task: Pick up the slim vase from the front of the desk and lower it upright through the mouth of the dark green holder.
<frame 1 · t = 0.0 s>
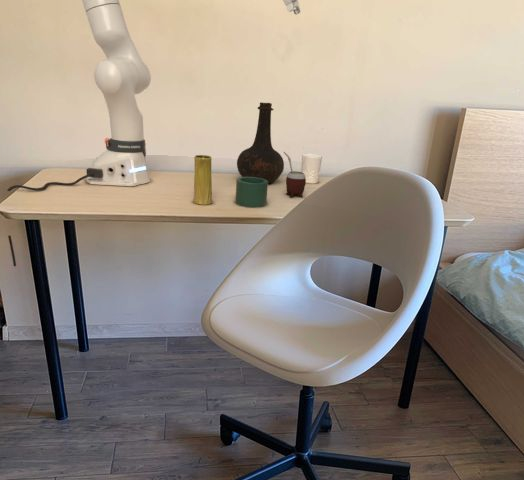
hand: (294, 12, 148), 54 cm above the table, tool tilted 30°, fingers open, 8 cm apart
white cup: (309, 182, 205), on the table
holder: (250, 203, 169), on the table
mate gourd: (293, 196, 182), on the table
vase: (202, 203, 166), on the table
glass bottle: (259, 182, 199), on the table
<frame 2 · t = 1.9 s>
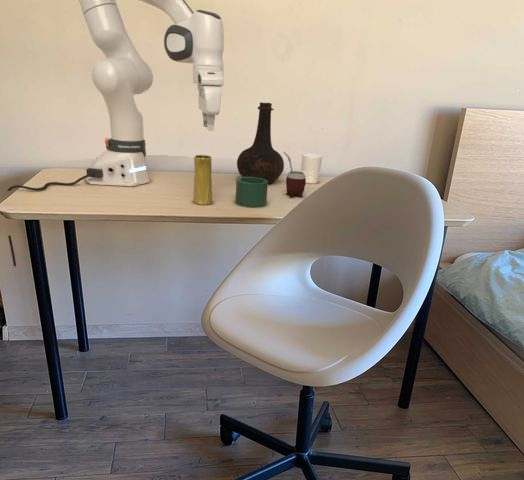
hand: (208, 128, 155), 22 cm above the table, tool pointing down, fingers open, 8 cm apart
nothing on the table moved.
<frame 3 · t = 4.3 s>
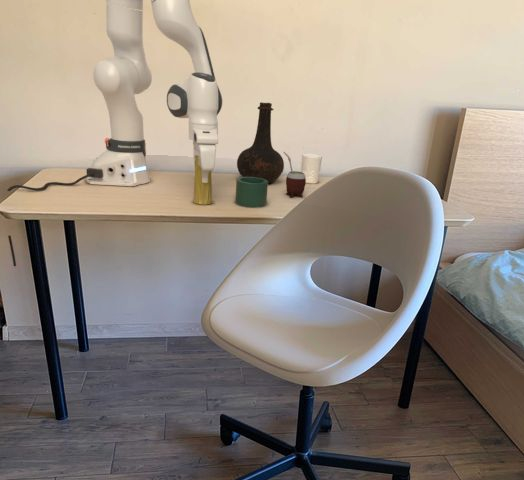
hand: (203, 180, 163), 7 cm above the table, tool pointing down, fingers closed on vase, 5 cm apart
vase: (202, 203, 166), on the table, touching gripper
everything else where it was.
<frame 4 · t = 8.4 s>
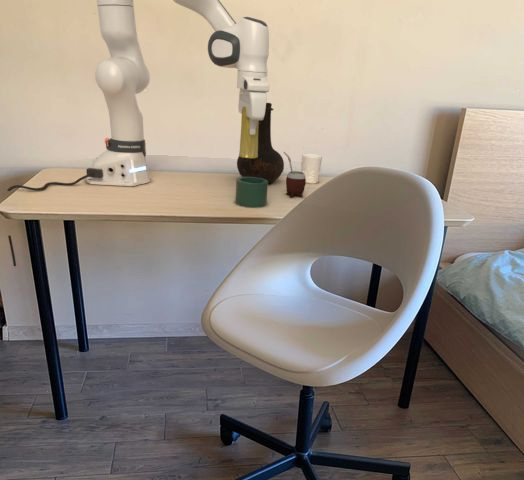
hand: (249, 132, 158), 22 cm above the table, tool pointing down, fingers closed on vase, 5 cm apart
vase: (248, 157, 162), point 14 cm above the table, touching gripper
everything else where it was.
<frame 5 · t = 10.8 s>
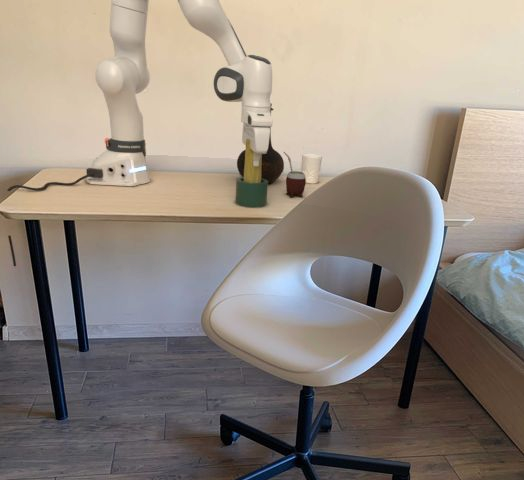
hand: (253, 163, 163), 13 cm above the table, tool pointing down, fingers closed on vase, 5 cm apart
vase: (251, 187, 167), point 5 cm above the table, touching gripper
everything else where it was.
when the fingers open (8 cm above the table, at t = 12.7 s): vase stays where it is, resting on holder.
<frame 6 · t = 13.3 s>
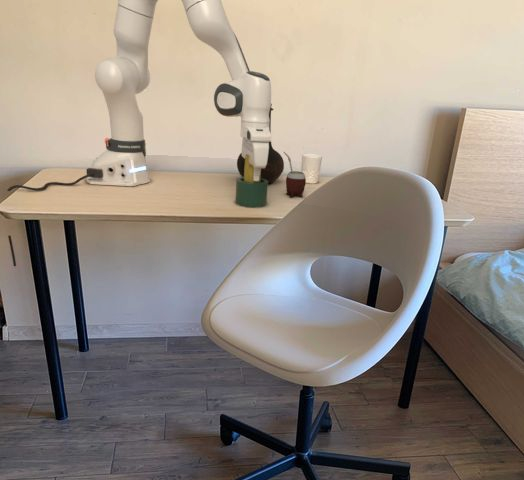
hand: (252, 177, 165), 8 cm above the table, tool pointing down, fingers open, 8 cm apart
vase: (250, 201, 169), point 1 cm above the table, touching holder
everything else where it was.
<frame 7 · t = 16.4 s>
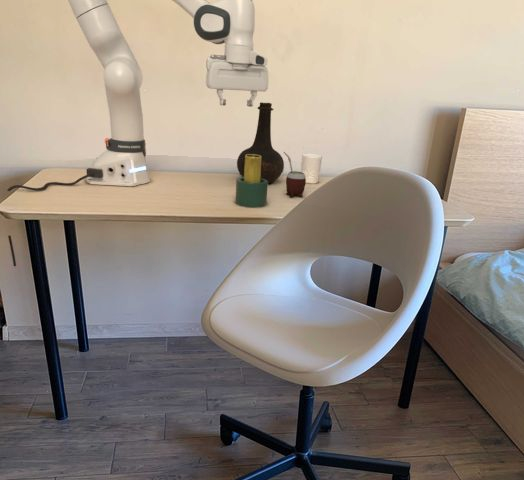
hand: (236, 105, 165), 28 cm above the table, tool pointing down, fingers open, 8 cm apart
nothing on the table moved.
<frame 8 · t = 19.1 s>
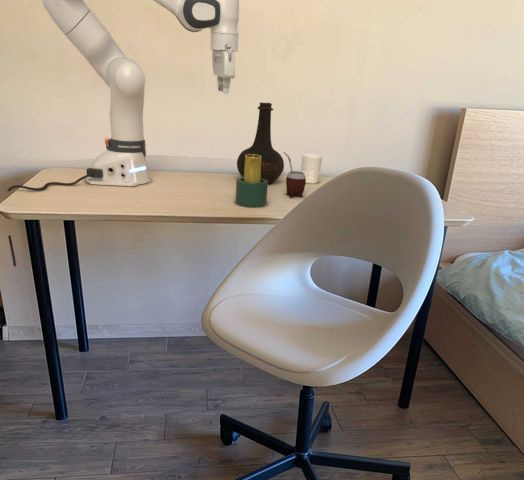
hand: (223, 92, 171), 31 cm above the table, tool pointing down, fingers open, 8 cm apart
nothing on the table moved.
at the end: vase 0.2 cm off-centre in the holder, point 0.6 cm above the holder's base; vase tilted 0°; the gripper is holding nothing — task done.
